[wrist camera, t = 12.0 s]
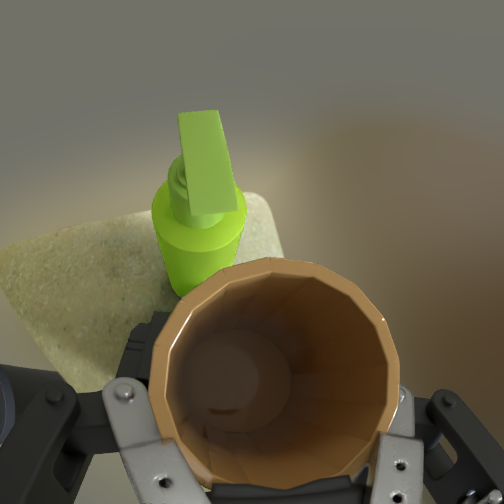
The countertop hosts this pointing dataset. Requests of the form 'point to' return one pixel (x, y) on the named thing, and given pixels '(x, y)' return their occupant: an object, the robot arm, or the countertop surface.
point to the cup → (274, 375)
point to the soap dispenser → (199, 205)
